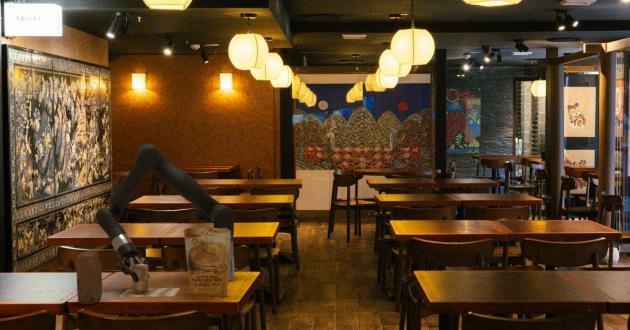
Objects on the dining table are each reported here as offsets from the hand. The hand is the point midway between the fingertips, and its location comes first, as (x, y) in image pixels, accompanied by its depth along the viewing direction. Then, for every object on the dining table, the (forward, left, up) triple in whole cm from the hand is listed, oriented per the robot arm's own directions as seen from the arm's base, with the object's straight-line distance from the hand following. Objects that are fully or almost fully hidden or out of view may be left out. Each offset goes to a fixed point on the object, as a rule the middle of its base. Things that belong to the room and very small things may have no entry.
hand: (142, 280), depth 309 cm
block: (+19, +7, -7) cm, 22 cm away
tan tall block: (+1, -1, -5) cm, 5 cm away
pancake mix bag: (-27, 0, -7) cm, 28 cm away
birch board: (-3, -2, -7) cm, 8 cm away
